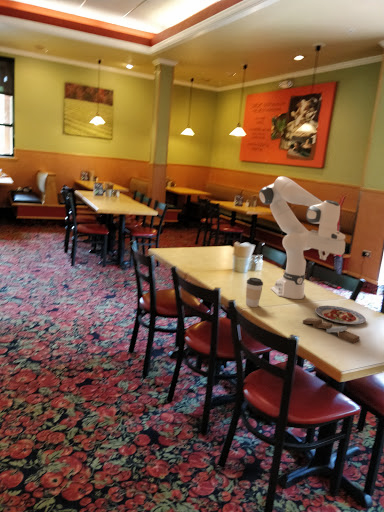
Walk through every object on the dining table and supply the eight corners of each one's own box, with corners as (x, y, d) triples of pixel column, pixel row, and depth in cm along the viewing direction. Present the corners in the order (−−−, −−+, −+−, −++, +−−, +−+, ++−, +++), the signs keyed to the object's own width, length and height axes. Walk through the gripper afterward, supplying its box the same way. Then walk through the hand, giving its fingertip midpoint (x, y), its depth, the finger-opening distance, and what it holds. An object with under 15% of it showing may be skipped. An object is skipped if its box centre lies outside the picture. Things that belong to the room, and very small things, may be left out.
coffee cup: (255, 301, 236) (258, 276, 232) (263, 307, 228) (266, 281, 224) (240, 302, 233) (244, 276, 229) (248, 308, 224) (252, 281, 221)
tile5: (338, 335, 196) (354, 341, 190) (344, 333, 199) (359, 339, 194) (338, 338, 197) (353, 345, 191) (343, 336, 200) (359, 342, 194)
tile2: (312, 323, 206) (328, 325, 201) (317, 321, 210) (332, 323, 205) (312, 326, 207) (328, 328, 201) (317, 324, 210) (332, 326, 205)
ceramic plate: (325, 305, 241) (326, 301, 240) (371, 319, 225) (372, 314, 225) (306, 316, 221) (307, 311, 220) (355, 331, 206) (356, 326, 205)
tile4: (338, 331, 196) (353, 338, 190) (344, 330, 199) (359, 336, 193) (337, 335, 196) (352, 341, 190) (344, 333, 199) (359, 339, 193)
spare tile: (326, 329, 201) (341, 328, 195) (331, 327, 204) (346, 326, 198) (326, 332, 201) (341, 331, 195) (332, 330, 204) (347, 329, 198)
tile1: (302, 320, 210) (317, 320, 204) (307, 318, 213) (322, 318, 208) (303, 323, 210) (317, 324, 204) (307, 321, 213) (322, 321, 208)
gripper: (306, 229, 217) (302, 255, 220) (342, 237, 202) (337, 264, 205) (313, 228, 221) (308, 254, 224) (348, 236, 206) (343, 263, 209)
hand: (322, 259), depth 215 cm, fingers closed
